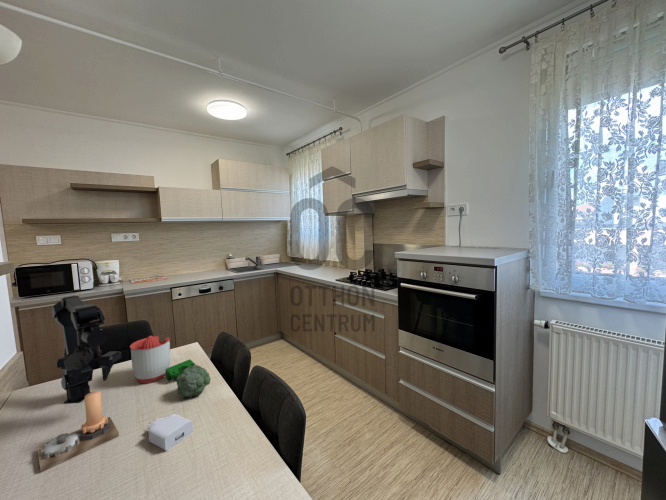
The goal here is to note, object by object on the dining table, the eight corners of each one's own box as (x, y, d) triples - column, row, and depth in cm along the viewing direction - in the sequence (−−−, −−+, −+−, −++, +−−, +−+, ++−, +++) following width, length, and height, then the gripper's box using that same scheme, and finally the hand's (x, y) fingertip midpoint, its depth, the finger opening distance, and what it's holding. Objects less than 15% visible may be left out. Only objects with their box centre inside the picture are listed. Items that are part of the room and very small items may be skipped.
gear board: (40, 472, 79) (39, 456, 78) (37, 451, 87) (36, 436, 86) (118, 436, 93) (117, 421, 92) (110, 420, 100) (109, 407, 100)
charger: (165, 419, 100) (193, 433, 94) (138, 436, 92) (165, 452, 85) (165, 407, 100) (192, 419, 93) (137, 423, 92) (164, 438, 85)
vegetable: (220, 376, 126) (210, 377, 112) (198, 402, 121) (186, 407, 107) (200, 359, 127) (188, 358, 114) (178, 384, 123) (163, 387, 109)
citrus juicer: (182, 368, 138) (179, 329, 136) (152, 388, 121) (149, 343, 120) (156, 365, 141) (153, 327, 140) (123, 384, 125) (120, 341, 123)
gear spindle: (76, 437, 90) (74, 398, 89) (98, 423, 97) (95, 387, 96) (92, 440, 89) (89, 401, 88) (112, 426, 95) (110, 390, 94)
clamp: (175, 390, 126) (168, 378, 122) (169, 383, 130) (161, 371, 125) (199, 371, 135) (193, 359, 130) (192, 365, 138) (186, 353, 133)
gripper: (39, 351, 93) (43, 395, 94) (98, 348, 95) (102, 392, 96) (68, 338, 104) (71, 378, 105) (120, 335, 106) (123, 375, 107)
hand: (91, 381), depth 103 cm, fingers open, 9 cm apart
